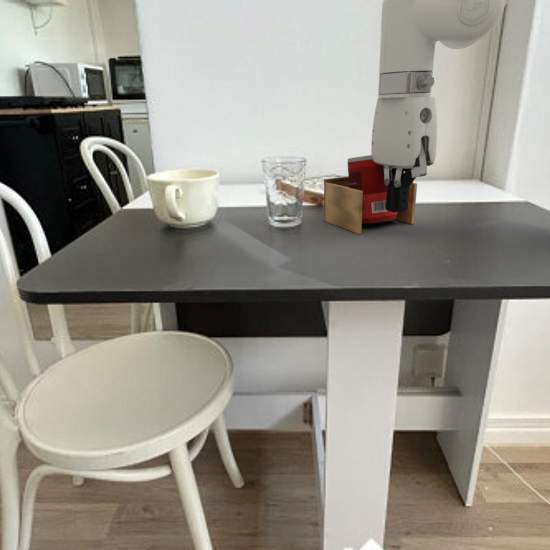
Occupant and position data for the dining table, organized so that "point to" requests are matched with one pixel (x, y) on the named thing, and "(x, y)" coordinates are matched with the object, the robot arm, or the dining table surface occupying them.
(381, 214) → the canned food
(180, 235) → the dining table surface
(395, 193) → the robot arm
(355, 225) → the brown u-shaped panel piece
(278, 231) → the dining table surface
